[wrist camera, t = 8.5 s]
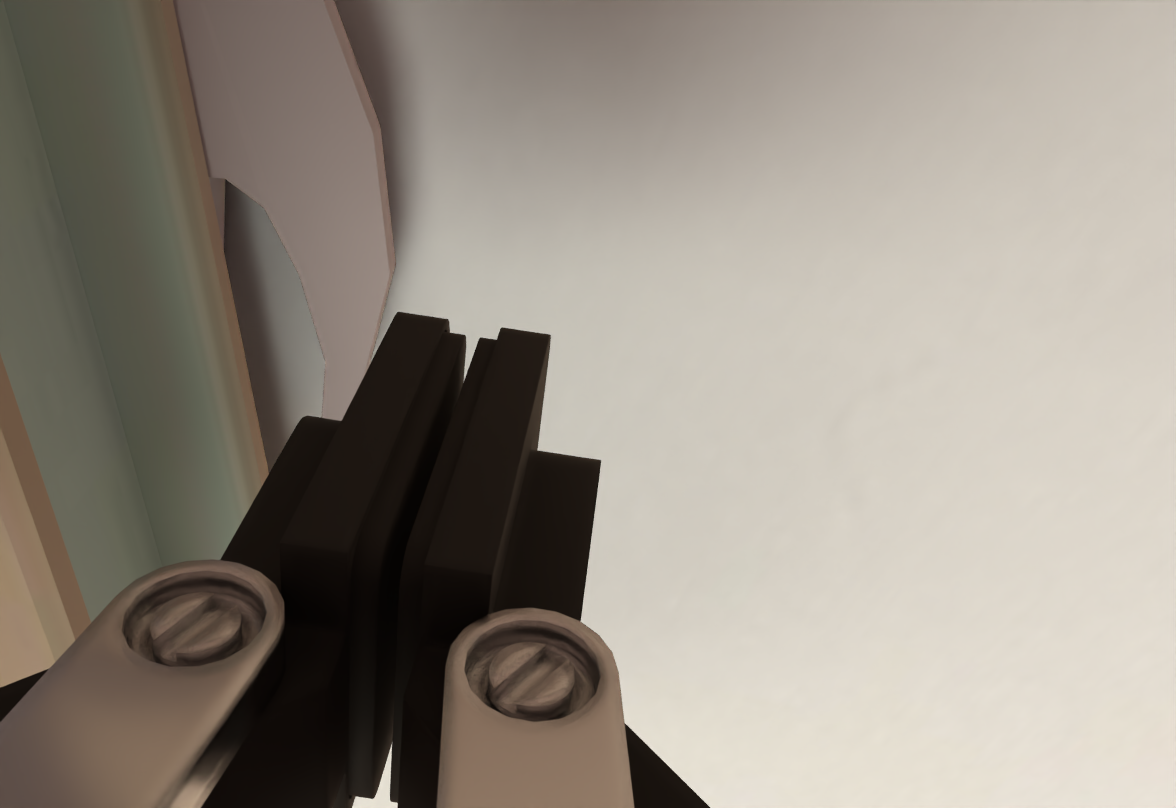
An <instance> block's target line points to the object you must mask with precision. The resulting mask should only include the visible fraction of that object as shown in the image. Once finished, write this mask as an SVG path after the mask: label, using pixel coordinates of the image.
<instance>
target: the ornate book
mask: <svg viewBox="0 0 1176 808" xmlns="http://www.w3.org/2000/svg"><path fill="white" fill-rule="evenodd" d="M225 179H226V180H227V181H229V182H230V183H231V184H233V185H234V186H235V187H237V188H238V189H239V190H241V191H242V192H243V193H245V194H246V195H247V196H248V197H250V198H251V199H252V200H254V201H255V202H256V203H258V204H259V205H260V206H262V207H263V208H264V209H265V211H266V213H267V215H268V217H269V219H270V221H271V222H272V224H273V226H274V228H275V230H276V232H277V234H278V236H279V238H280V240H281V242H282V244H283V245H284V247H285V249H286V251H287V253H288V255H289V257H290V259H291V261H292V263H293V265H294V267H295V268H296V270H297V272H298V274H299V277H300V280H301V283H302V287H303V290H304V293H305V296H306V300H307V303H308V306H309V310H310V313H311V316H312V319H313V323H314V326H315V329H316V333H317V336H318V339H319V343H320V346H321V349H322V352H323V356H324V359H325V376H324V391H323V406H322V418H326V419H333V420H339V421H342V419H343V417H344V415H345V413H346V411H347V409H348V407H349V405H350V403H351V401H352V399H353V397H354V395H355V393H356V391H357V389H358V387H359V385H360V383H361V381H362V380H363V378H364V376H365V374H366V372H367V370H368V368H369V366H370V362H371V358H372V354H373V350H374V347H375V343H376V339H377V335H378V331H379V327H380V323H381V319H382V316H383V312H384V308H385V304H386V300H387V296H388V292H389V288H390V285H391V281H392V277H393V273H394V269H395V265H396V261H395V252H394V243H393V234H392V225H391V217H390V208H389V199H388V190H387V181H386V172H385V163H384V155H383V146H382V137H381V128H380V124H379V121H378V118H377V116H376V113H375V110H374V108H373V105H372V102H371V99H370V97H369V94H368V91H367V89H366V86H365V83H364V80H363V78H362V75H361V72H360V70H359V67H358V64H357V61H356V59H355V56H354V53H353V50H352V48H351V45H350V42H349V40H348V37H347V34H346V31H345V29H344V26H343V23H342V21H341V18H340V15H339V12H338V10H337V7H336V4H335V2H334V0H0V687H3V686H5V685H8V684H11V683H13V682H16V681H18V680H21V679H23V678H26V677H29V676H31V675H34V674H36V673H39V672H41V671H44V670H47V669H49V668H50V667H51V666H52V665H53V664H54V663H55V662H56V661H57V660H58V659H59V657H60V656H61V655H62V654H63V653H64V652H65V651H66V650H67V649H68V648H69V647H70V645H71V644H72V643H73V642H74V641H75V640H76V639H77V638H78V637H79V636H80V635H81V633H82V632H83V631H84V630H85V629H86V628H87V627H88V626H89V625H90V624H91V623H92V621H93V620H94V619H95V618H96V617H97V616H98V615H99V614H100V613H101V612H102V611H103V609H104V608H105V607H106V606H107V605H108V604H109V603H110V602H111V601H112V600H113V599H114V597H115V596H116V595H117V594H119V593H120V592H121V591H122V590H123V589H125V588H126V587H127V586H128V585H129V584H131V583H132V582H133V581H134V580H136V579H137V578H139V577H142V576H144V575H146V574H148V573H150V572H152V571H154V570H156V569H158V568H160V567H164V566H168V565H172V564H176V563H180V562H184V561H192V560H209V559H215V560H220V559H221V557H222V556H223V554H224V552H225V550H226V549H227V547H228V545H229V543H230V542H231V540H232V538H233V536H234V534H235V533H236V531H237V529H238V527H239V526H240V524H241V522H242V520H243V519H244V517H245V515H246V513H247V512H248V510H249V508H250V506H251V505H252V503H253V501H254V499H255V498H256V496H257V494H258V492H259V491H260V489H261V487H262V485H263V484H264V482H265V480H266V478H267V477H268V475H269V471H268V466H267V461H266V457H265V452H264V447H263V442H262V437H261V432H260V427H259V422H258V417H257V412H256V407H255V402H254V398H253V393H252V388H251V383H250V378H249V373H248V368H247V363H246V358H245V353H244V348H243V343H242V338H241V334H240V329H239V324H238V319H237V314H236V309H235V304H234V299H233V294H232V289H231V284H230V279H229V275H228V270H227V265H226V260H225V255H224V219H225Z"/></svg>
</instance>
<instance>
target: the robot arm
mask: <svg viewBox="0 0 1176 808" xmlns="http://www.w3.org/2000/svg"><path fill="white" fill-rule="evenodd" d="M550 339H551V335H548V334H541V333H535V332H528V331H521V330H515V329H508V328H501V329H500V332H499V335H498V338H497V340H494V339H487V338H480V339H479V341H478V344H477V347H476V349H475V352H474V355H473V358H472V361H471V364H470V366H469V369H468V372H467V375H466V378H465V381H464V383H463V380H464V366H465V353H466V336H465V335H461V334H454V333H450V328H449V321H448V319H442V318H436V317H429V316H423V315H416V314H409V313H403V312H397V314H396V315H395V317H394V319H393V321H392V323H391V324H390V326H389V328H388V330H387V332H386V334H385V336H384V338H383V340H382V342H381V344H380V346H379V348H378V350H377V352H376V354H375V356H374V358H373V360H372V362H371V364H370V366H369V368H368V370H367V372H366V374H365V376H364V378H363V380H362V381H361V383H360V385H359V387H358V389H357V391H356V393H355V395H354V397H353V399H352V401H351V403H350V405H349V407H348V409H347V411H346V413H345V415H344V417H343V419H342V421H339V420H333V419H326V418H319V417H313V416H306V417H303V418H302V419H301V420H300V422H299V423H298V424H297V426H296V427H295V429H294V431H293V433H292V434H291V436H290V438H289V440H288V441H287V443H286V445H285V447H284V448H283V450H282V452H281V454H280V455H279V457H278V459H277V461H276V462H275V464H274V466H273V468H272V469H271V471H270V473H269V475H268V477H267V478H266V480H265V482H264V484H263V485H262V487H261V489H260V491H259V492H258V494H257V496H256V498H255V499H254V501H253V503H252V505H251V506H250V508H249V510H248V512H247V513H246V515H245V517H244V519H243V520H242V522H241V524H240V526H239V527H238V529H237V531H236V533H235V534H234V536H233V538H232V540H231V542H230V543H229V545H228V547H227V549H226V550H225V552H224V554H223V556H222V557H221V559H220V560H215V559H209V560H192V561H184V562H180V563H176V564H172V565H168V566H164V567H160V568H158V569H156V570H154V571H152V572H150V573H148V574H146V575H144V576H142V577H139V578H137V579H136V580H134V581H133V582H132V583H131V584H129V585H128V586H127V587H126V588H125V589H123V590H122V591H121V592H120V593H119V594H117V595H116V596H115V597H114V599H113V600H112V601H111V602H110V603H109V604H108V605H107V606H106V607H105V608H104V609H103V611H102V612H101V613H100V614H99V615H98V616H97V617H96V618H95V619H94V620H93V621H92V623H91V624H90V625H89V626H88V627H87V628H86V629H85V630H84V631H83V632H82V633H81V635H80V636H79V637H78V638H77V639H76V640H75V641H74V642H73V643H72V644H71V645H70V647H69V648H68V649H67V650H66V651H65V652H64V653H63V654H62V655H61V656H60V657H59V659H58V660H57V661H56V662H55V663H54V664H53V665H52V666H51V667H50V668H49V669H47V670H44V671H41V672H39V673H36V674H34V675H31V676H29V677H26V678H23V679H21V680H18V681H16V682H13V683H11V684H8V685H5V686H3V687H0V808H352V806H353V802H354V799H355V796H358V797H365V798H371V799H373V798H374V797H375V795H376V793H377V790H378V787H379V784H380V781H381V777H382V774H383V771H384V767H385V764H386V761H387V757H388V754H389V750H390V747H391V744H392V761H391V784H390V800H391V802H397V803H398V808H710V807H709V806H708V805H707V804H706V803H705V802H704V801H703V800H702V799H701V798H700V797H699V796H698V795H697V794H696V793H695V792H694V791H693V790H692V789H691V788H690V787H689V786H688V785H687V784H686V783H685V782H684V781H683V780H682V779H681V778H680V777H679V776H678V775H677V774H676V773H675V772H674V771H673V770H672V769H671V768H670V767H669V766H668V765H667V764H666V763H665V762H664V761H663V760H662V759H661V758H659V757H658V756H657V755H656V754H655V753H654V752H653V751H652V750H651V749H650V748H649V747H648V746H647V745H646V744H645V743H644V742H643V741H642V740H641V739H640V738H639V737H638V736H637V735H636V734H635V733H634V732H633V731H632V730H631V729H630V728H629V727H628V726H627V725H626V724H625V723H624V715H623V707H622V698H621V689H620V681H619V672H618V669H617V666H616V663H615V660H614V656H613V653H612V651H611V650H610V649H609V647H608V646H607V645H606V644H605V642H604V641H603V640H602V638H601V637H600V636H599V635H598V634H597V633H596V632H594V631H593V630H591V629H590V628H589V627H587V626H586V625H584V624H583V623H582V622H580V621H581V613H582V606H583V598H584V590H585V582H586V575H587V567H588V559H589V551H590V544H591V536H592V528H593V520H594V513H595V505H596V497H597V489H598V482H599V474H600V466H601V460H596V459H589V458H582V457H576V456H569V455H563V454H556V453H550V452H543V451H537V448H538V440H539V432H540V424H541V415H542V407H543V399H544V391H545V383H546V375H547V367H548V359H549V350H550Z"/></svg>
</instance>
